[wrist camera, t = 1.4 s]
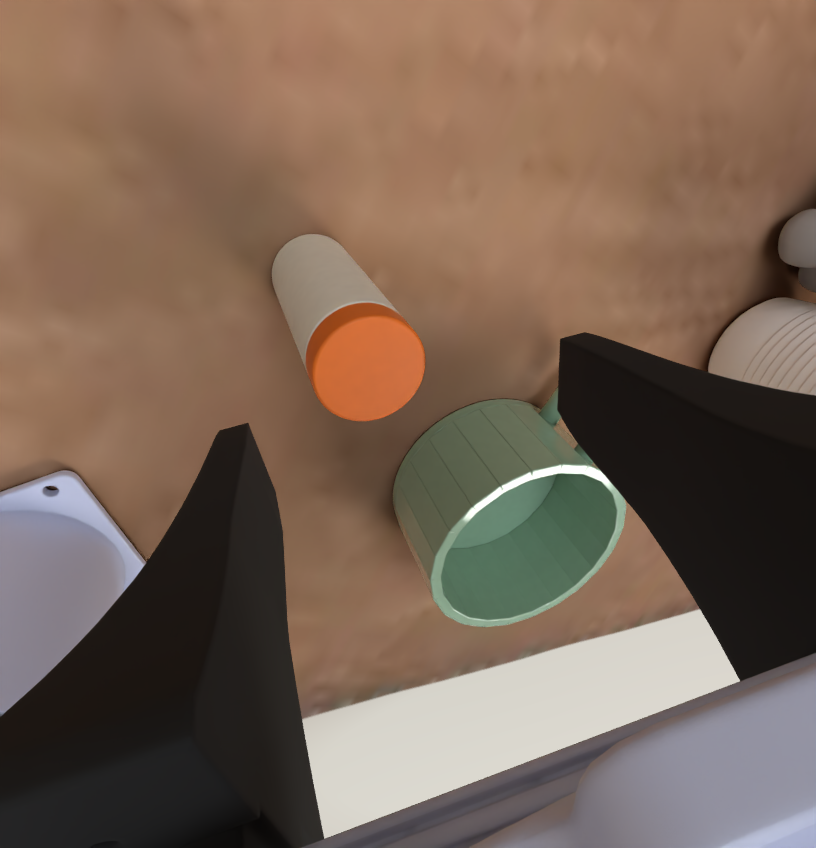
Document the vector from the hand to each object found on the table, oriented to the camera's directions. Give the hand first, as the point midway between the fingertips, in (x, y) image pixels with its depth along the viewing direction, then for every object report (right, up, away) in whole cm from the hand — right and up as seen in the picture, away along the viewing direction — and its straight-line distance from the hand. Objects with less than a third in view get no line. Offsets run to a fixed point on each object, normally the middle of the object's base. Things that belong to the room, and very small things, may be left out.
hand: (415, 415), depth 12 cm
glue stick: (-4, +5, +8) cm, 10 cm away
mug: (+4, -2, +16) cm, 17 cm away
